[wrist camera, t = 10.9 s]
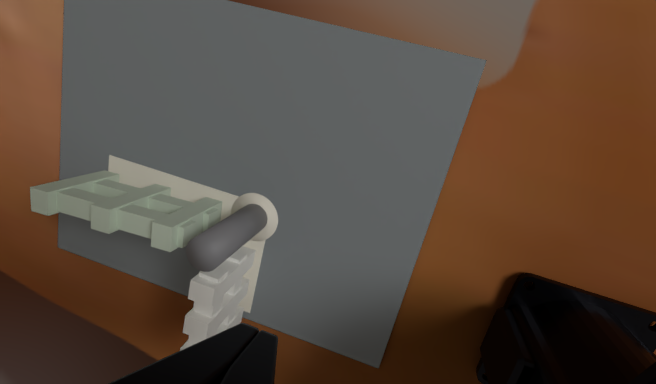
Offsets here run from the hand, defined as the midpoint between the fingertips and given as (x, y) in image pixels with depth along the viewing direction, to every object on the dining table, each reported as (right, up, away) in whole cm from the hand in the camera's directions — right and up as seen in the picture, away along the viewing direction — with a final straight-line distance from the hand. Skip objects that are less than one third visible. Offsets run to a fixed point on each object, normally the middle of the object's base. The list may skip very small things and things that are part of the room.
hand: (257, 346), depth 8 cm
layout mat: (-4, +4, +13) cm, 14 cm away
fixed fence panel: (-3, -1, +14) cm, 14 cm away
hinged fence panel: (-8, +3, +13) cm, 16 cm away
